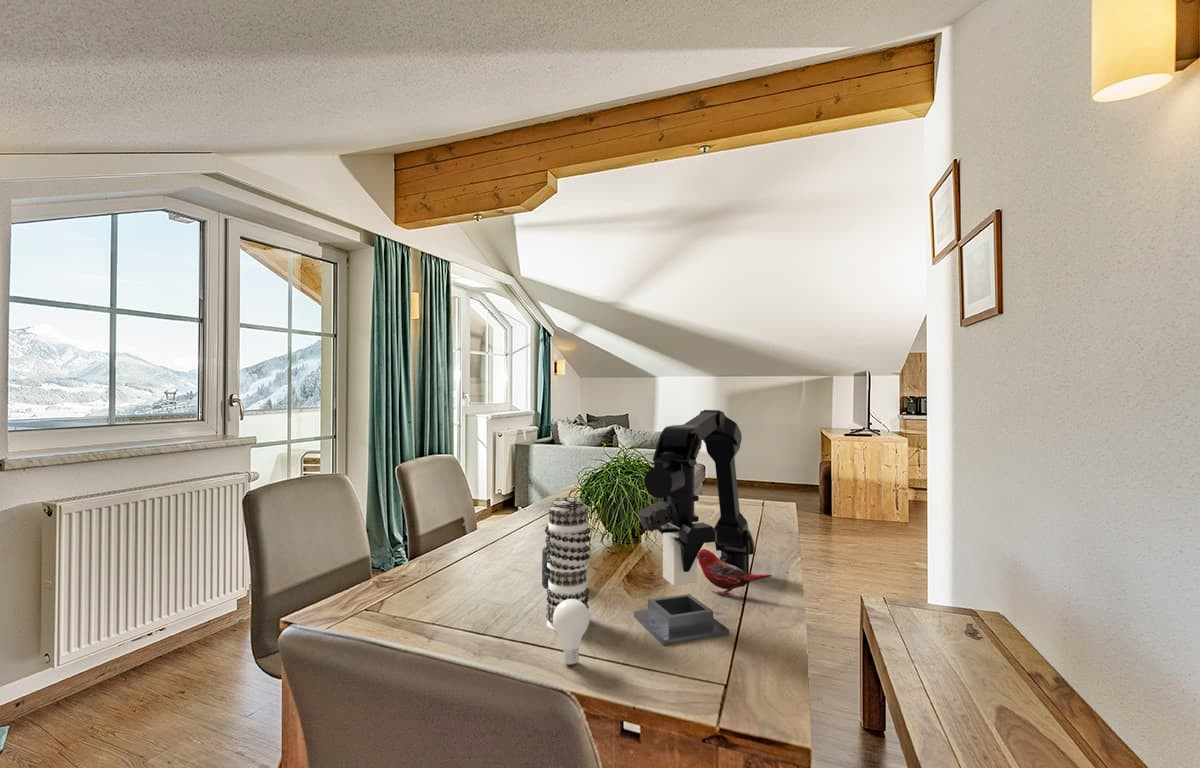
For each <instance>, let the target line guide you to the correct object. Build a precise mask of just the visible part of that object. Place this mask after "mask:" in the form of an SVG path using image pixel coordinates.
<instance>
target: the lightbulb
mask: <svg viewBox="0 0 1200 768" xmlns="http://www.w3.org/2000/svg"><path fill="white" fill-rule="evenodd" d="M590 617H591V616H590V612H589V608H588V609H587V607H586V606H585V605H584V604H583V603H582V602H581V601H579V600H577V599H566V600H564V601H562V602H561V603H559V604H558V606H557V607H556V608H555V610H554V613H553V625H554V628H555V630H556V631H555V632H556V633H557V635H559V638H560V641H561V646H562V647H563V649H562V650H563V652H562V654H563V657H562V658H563V660H562V661H563V663H564V664H566V665H568V666H574V665H576V664H577V663H579V661H580V660H579V659H580V646H581V643H582V638H583V636H584V634H585V633H586V631H587V630H588V628H589V626H590V621H591V620H590V619H591V618H590Z"/></svg>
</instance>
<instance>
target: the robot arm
mask: <svg viewBox="0 0 1200 768" xmlns="http://www.w3.org/2000/svg"><path fill="white" fill-rule="evenodd" d="M742 438H743V436H742V432H741V429H740V427H739V426H738V424H737V422H735V421H734V420H732V419H731V418H729V417H727V416H726V414H725V412H724V410H723V411H722V410H719V409H704V410H701V411H700V412H699V414H697V415H696V416H694V417H693V418H692V419H689V420H688V421H687V422H686V423H683V424H677V425H676V424H675V425H674V424H673V425H669V426H665V427H664V428H663V429H662V431H661V433H660V435H659V437H658V440H657V441H658V442H657V443H656V448H655V450H654V453H653V457H652V462H653V467H652V468H650V469H649V470H648V471H647V472H646V474H645V477H644V480H643V481H644V483H643V484H644V487H645V490H646V492H647V493H648V494H649V495H650V496H652V497H654V498H656V499H660V501H658V502H656V503H653V504H650V505H648V506H646V507H644V508H642V509H640V510H638V511H637V514H638V518H639V521H640V524H641V527H642V528H643V529H644V528H645V529H646V530H647V531H648V532H654V531H658V533H659V534H661V535H662V536H663V533H669V532H679V537H680V538H674V540H675V541H676V542H677V543H678V544H679V545H680V547H681V557H682V565H683V571H684V572H689V571H690V569H691V567H692V564H693V562H694V560H695V558H696V556H697V555H698V553H699V551H700V550H702V547H703V545H704V544H707V543H709V544H710V543H714V547H715V550H716V551H717V552H720V556H719V560H721V561H723V562H725V563H728V564H730V565H733V566H735V567H737V568H739V569H741V570H743V571H745V572H746V573H748V574H749V575H752V574H751V573H750V572H749V571H750V568H749V567H750V565H749V564H750V555H755V548H756V547H755V540H754V538H753V536H752V534H751V531H750V529H749V525H748V524H749V523H748V521H747V519H746V518H745V517H744V515H743V513H741V510H740V502H739V492H738V491H739V490H738V482H737V480H738V479H737V470H736V462H735V461H736V460H735V459H736V456H737V454H738V452H739V451H740V449H741V443H742ZM702 442H703V443H704V444H705V449H706V453H707V454H708V456H709V457H710V458H711V459H712V460H713V462H714V466H715V475H716V486H717V494H718V505H719V514H720V517H719V518H718V520H717V522H716V523H715V525H714V526H712V525H709V524H708V523H705V522H699V519H700V518H699V516H698V515H696V514H695V502H699V495H697V494H695V465H697V463H698V461H697V458H698V454H699V451H700V450H701V449H702Z"/></svg>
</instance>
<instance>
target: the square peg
mask: <svg viewBox="0 0 1200 768" xmlns="http://www.w3.org/2000/svg"><path fill="white" fill-rule="evenodd" d="M674 538H680V537H679V532H669V533H663V535H662V578H663V579H664V580H666V581H667V582H668V583H669V584H671V585H672V586H683V585H692V584H696V583H697V582H698V559H697V556H696V558H695V560H694V562H693V564H692V567H691V569H690V571H689V572H684V571H683V565H682V557H681V547H680V545H679V544H678V543H677V542H676V541H675V540H674Z"/></svg>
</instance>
